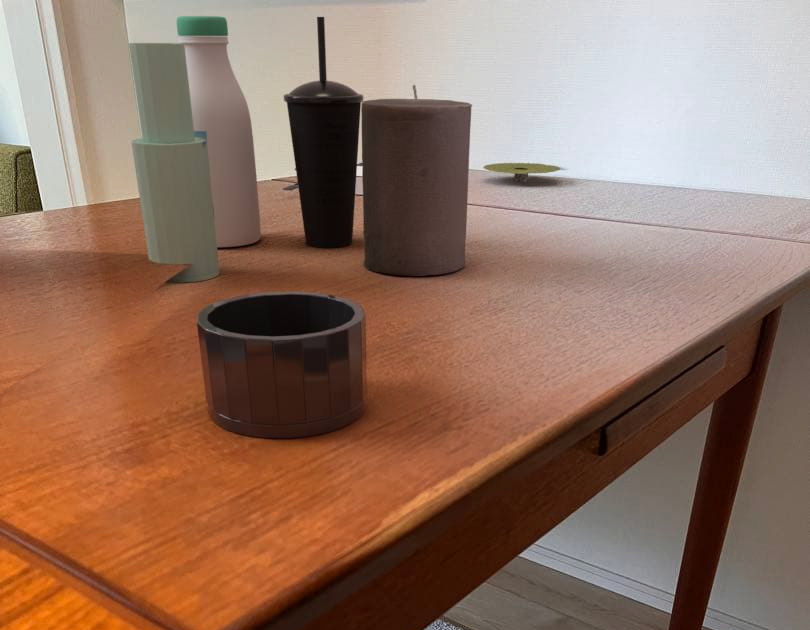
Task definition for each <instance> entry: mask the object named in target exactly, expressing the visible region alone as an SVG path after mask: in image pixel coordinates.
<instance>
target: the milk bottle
mask: <svg viewBox="0 0 810 630" xmlns="http://www.w3.org/2000/svg"><path fill="white" fill-rule="evenodd" d="M175 23H176V31H177V36H178V43H184V46H185V55H186V64H187V73H188V82H189V91H190V100H191V108H192V117H193V126H194V135H195V137H196V138H202V139H205V140H206V148H207V158H208V167H209V176H210V186H211V195H212V204H213V214H214V223H215V233H216V242H217V248H232V247H242V246H247V245H251V244H254V243H258V242H259V240H260V238H261V236H262V231H261V229H262V227H261V216H260V215H261V214H260V203H259V191H258V189H259V188H258V179H257V178H258V177H257V167H256V156H255V144H254V143H255V142H254V133H253V127H252V119H251V114H250V109H249V106H248V103H247V99H246V97H245V95H244V92H243V90H242V88H241V86H240V83H239V82H238V79H237V77H236V75H235V73H234V70H233V68H232V65H231V62H230V59H229V53H228V45H229V43H230V41H229V39H228V35H229V29H228V21H227V18H226V17H224V16H218V15H217V16H213V15H187V16H186V15H183V16H182V15H181V16H178V17H177V18H176V22H175Z"/></svg>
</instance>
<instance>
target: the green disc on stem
mask: <svg viewBox="0 0 810 630" xmlns="http://www.w3.org/2000/svg"><path fill="white" fill-rule="evenodd" d="M482 168H483V169H485V170H486V171H489V172H495V173H503V174H513V175H514V176H513V178H515V181H518V182H519V183H521V182H522V181H525V182H528V179H529V174H548V173H554V172H557V171H561V167H559V166H556V165H550V164H546V163H545V164H544V163H534V162H533V163H532V162H531V163H530V162H526V163H525V162H503V163H502V162H499V163H491V164H485V165H484V166H483V167H482Z"/></svg>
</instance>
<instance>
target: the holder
mask: <svg viewBox="0 0 810 630" xmlns="http://www.w3.org/2000/svg"><path fill="white" fill-rule="evenodd" d="M366 315H367V314H366V312H365V310H364V308H363V306H362V305H360V304H358V303H356V302H355V301H353V300H351V299H348V298H345V297H341V296H338V295H333V294H327V293H320V292H311V291H268V292H258V293H251V294H244V295H238V296H233V297H230V298H229V297H228V298H226V299H222V300H219V301H217V302H213V303H211V304H208V305H206V306H205V307H204V308H203V309H202V310H201V311H199V312H198V313H197V316H196V328H197V336H198V343H199V345H198V346H199V352H200V359H201V368H202V369H201V370H202V375H203V376H202V377H203V384H204V393H205V401H206V403H207V411H208V416H209V418H210V419H211V420H212V422H213V423H215V424H216V425H217V426H219V427H220V428H222V429H224V430H227V431H229V432H232V433H235V434H239V435H243V436H248V437H254V438H261V439H263V438H264V439H296V438H297V439H298V438H306V437H313V436H318V435H323V434H327V433H331V432H334V431H337V430H340V429H343V428H345V427H347V426H349V425H351V424H353V423H355V422H356V421H357V420H358V419H360V418H361V417H362V416H363V414H364V413H365V412H366V408H367V394H368V372H367V369H368V368H367V367H368V366H367V364H368V363H367V319H366V317H367V316H366Z"/></svg>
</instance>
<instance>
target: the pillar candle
mask: <svg viewBox="0 0 810 630" xmlns="http://www.w3.org/2000/svg"><path fill="white" fill-rule="evenodd" d="M412 90H413V95H414V96H413V97H414V98H378V99H369V100H368V99H367V100H364V101H363V102H361V108H360V114H361V163H363V168H362V183H363V195H362V209H363V211H362V213H363V217H362V219H363V221H362V222H363V225H362V226H363V227H362V228H363V232H362V234H363V246H364V248H363V249H364V260H363V266H364V267H365V268H366V269H368V270H370V271H371V272H375V273H381V274H385V275H386V274H387V275H393V276H406V277H413V276H414V277H421V276H423V277H424V276H425V277H426V276H427V277H428V276H437V275H445V274H449V273H454V272H457V271H460V270H461V269H463V268H464V266H465V260H466V241H467V222H468V221H467V220H468V199H469V197H468V196H469V171H470V170H469V169H470V148H471V146H470V145H471V125H472V124H471V123H472V106H473V104H472V103H470V102H466V101H465V102H464V101H457V100H452V99H451V100H450V99H434V98H418V95H417V92H418V91H417V86H416V84H413V85H412Z"/></svg>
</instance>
